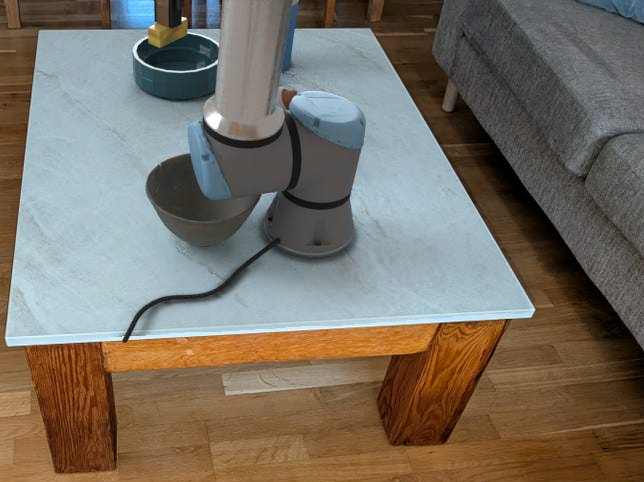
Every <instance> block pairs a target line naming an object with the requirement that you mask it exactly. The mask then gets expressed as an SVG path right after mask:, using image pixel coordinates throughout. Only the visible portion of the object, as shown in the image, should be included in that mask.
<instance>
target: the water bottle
mask: <svg viewBox="0 0 644 482" xmlns="http://www.w3.org/2000/svg"><path fill="white" fill-rule="evenodd" d="M298 6H299V0H293V4H292V10H291V16H290V23H289V29H288V35H287V41H286V47H285V53H284V59H283V65H282V71H281V73H282V72H284V71H285V70H287V69H288V68H289V67H290V66H291V62H292V53H293V46H294V39H295V31H296V23H297V15H298V14H297V13H298Z"/></svg>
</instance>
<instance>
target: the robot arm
mask: <svg viewBox="0 0 644 482" xmlns="http://www.w3.org/2000/svg"><path fill="white" fill-rule="evenodd" d="M152 1H153V9H154V10H153V11H154V12H153V13H154V14H153V15H154V17H153V18H154V22H155V23H157V0H152ZM292 4H293V0H222V4H221V14H220V27H219V40H218V43H219V52H218V64H217V77H216V89H215V90H214V91H215V92H214V94H213V95H212V96H210V97H209V98H208V99H207V100H206V101H205V102H204V105H203V108H202V118H201V119H202V120H198V119H195V121H193V122H191V123H190V124H189V125H188V127H187V143H188V148H189V153H190V155H191V159H192V164H193V168H194V172H195V175H196V178H197V181H198V184H199V186H200V188H201V191H202V192H203V194H204V195H205V196H206V197H207V198H208V199H210V200H227V199H230V200H234V199H235V198H241V197H247V196H253V195H260V194H262V195H265V194H272V193H275V195H274V196H273V199H272V200H271V202H270V204H269V206H268V208H267V210H266V212H265V216H264V221H263V233H264V235H265V237H266V239H267V240H268V241H269V242H270V243H268V244H267V245H265V247H263V248H262V249H259V251H258V252H256V253H255V254H253V255H252V256H251V257H250V258H249V259H247V260H246V261H245V262H243V263H242V264H241V265H240V266H239V267H237V269H235V270H234V272H233V273H232V274H231V275H230V276H229V277H228V278H227V279H226V280H224V282H223V283H221V284H220V285H219V286H217V287H215V288H212V289H211V290H208V291H204V292H200V293H193V294H192V293H191V294H170V295H165V296H161V297H158V298H155V299H153V300H151V301H150V302H148V303H146V304H145V305H143V306H142V307H141V308H140V309H139V310H138V311H137V312H136V313H135V315H134V316H133V318H132V320H131V321H130V324H129V326H128V328H127V329H126V331H125V334H124V335H123V338H122V340H121V343H123V344H126V343H127V342H128V341H129V340H130V338H131V335H132V333H133V331H134V329H135V328H136V325H137V324H138V322H139V320H140V319H141V318H142V316H143V314H144V313H146V312H147V311H148V310H150V309H151V308H153V307H154V306H157V305H158V304H161V303H164V302H169V301H181V300H182V301H183V300H199V299H205V298H209V297H211V296H215V295H217V294H219V293H220V292H221V291H223V290H224V289H226V288H227V287H228V286H229V285H230V284H231V283H232V282H233V281H234V280H235V279H236V278H237V277H238V276H239V275H240V274H241V273H242V272H243V271H244V270H245V269H247V268H248V267H249V266H250V265H252V264H253V263H254V262H255V261H256V260H258V259H259V258H261V257H262V256H263V255H265V254H266V253H267V252H269V251H270V250H271V249H272V248H274V247H275V248H276V249H278V250H280V251H281V252H283V253H286V254H287V255H290V256H293V257H297V258H301V259H307V260H308V259H310V260H312V259H313V260H318V259H327V258H330V257H334V256H337V255H338V254H340V253H342V252H344V251H345V250H346V249H347V248H348V247H349V246H350V245H351V242H352V239H353V235H354V229H355V223H354V217H353V210H352V201H351V195H352V190H353V187H354V182H355V178H356V174H357V169H358V165H359V161H360V157H361V153H362V149H363V147H364V145H365V136H366V135H365V134H366V127H367V120H366V116H365V114H364V113H363V110H362V109H361V108H359V106H357V105H356V104H355V103H353V102H352V101H351V100H349V99H347V98H345V97H343V96H340V95H339V94H335V93H331V92H326V91H321V90H306V91H302V92H299V93H297V95H296V96H295V97H293V99H292V101H291V102H290V104H289V110H287V111H283V109H282V107H281V106H280V105H279V103H278V102H277V96H278V90H279V85H280V82H281V78H282V72H283V71H282V65H283V59H284V53H285V47H286V41H287V35H288V29H289V23H290V16H291V10H292ZM184 8H185V0H169V28H172V29H173V28H175V27H177V26H179V25H181V24H182V17H183V9H184ZM281 71H282V72H281Z"/></svg>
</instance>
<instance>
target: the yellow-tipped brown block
mask: <svg viewBox="0 0 644 482" xmlns="http://www.w3.org/2000/svg"><path fill="white" fill-rule="evenodd" d="M188 21H189V20H188V18H187V17H184V16H182V24H181V25H179V26H177V27H175V28H173V29H172V28H169V0H157V22H155V23H154V24H152V25H150V26H148V27H147V36H148V43H149V44H152V45H154V46H156V47H159V48H161V47H163V46H165V45H167V44H169V43H171V42H173V41H175V40H177V39H179V38H181V37H183V36H185V35H187V32H188V24H189V23H188Z"/></svg>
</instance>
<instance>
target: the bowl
mask: <svg viewBox="0 0 644 482" xmlns="http://www.w3.org/2000/svg"><path fill="white" fill-rule="evenodd" d="M145 181H146V182H145V187H144V188H145V189H144V190H145V194H146V197H147V198H148V200H149V202H150V204H151V206H152V207H153V208H154V210H155V212H156V214H157V217H158V218H159V219H160V221H161V223H162V224H163V226H165V228H167V230H168V231H169V232H170V233H172V234H173V235H174V236H176V237H177V238H179V239H180V240H181V241H184V242H185V243H188V244H190V245H192V246H199V247H207V246H212V245H217V244H219V243H222V242H225V241H226V240H229V238H231V237H233V235H235V234H236V233H237V232H238V231H239V230H240V229H241V228H242V227H243V226H244V224H245V223H246V221H247V220H248V219H249V217H250V216H251V214H252V213H253V212H254V210H255V208H256V207H257V204H258V203H259V202H260V200H261V197H262V195H263V194H260V195H253V196H247V197H241V198H235V199H234V200H230V199H227V200H210V199H208V198H207V197H206V196H205V195H204V194H203V192H202V191H201V188H200V186H199V184H198V181H197V178H196V175H195V172H194V168H193V164H192V159H191V155H190V152H187V153H183V154H182V153H181V154H178V155H174V156H172V157H169V158H167V159H165V160H163V161H161V162H159V163H158V164H157V165H156V166H155V167H153V168H152V170H151V171H150V172H149V174H148V175H147V177H146V180H145Z"/></svg>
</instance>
